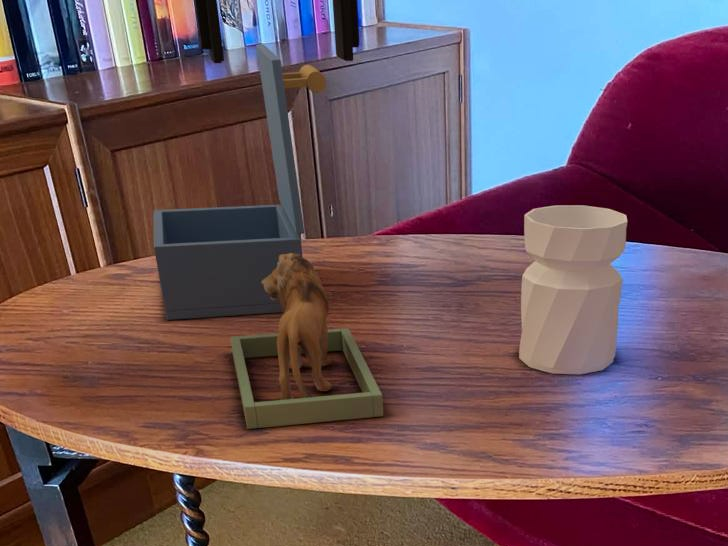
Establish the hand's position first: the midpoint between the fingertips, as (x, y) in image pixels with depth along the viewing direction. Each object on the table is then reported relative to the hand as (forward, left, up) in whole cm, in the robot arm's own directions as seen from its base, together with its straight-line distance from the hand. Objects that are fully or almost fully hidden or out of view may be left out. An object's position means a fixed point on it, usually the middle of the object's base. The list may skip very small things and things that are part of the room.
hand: (282, 60), depth 73 cm
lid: (+1, +22, -8) cm, 24 cm away
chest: (-5, +22, -23) cm, 32 cm away
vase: (+23, -5, -23) cm, 33 cm away
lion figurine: (-1, -4, -23) cm, 24 cm away
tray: (-1, -6, -23) cm, 24 cm away
